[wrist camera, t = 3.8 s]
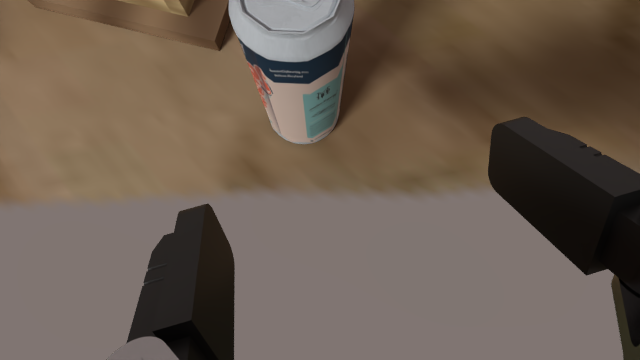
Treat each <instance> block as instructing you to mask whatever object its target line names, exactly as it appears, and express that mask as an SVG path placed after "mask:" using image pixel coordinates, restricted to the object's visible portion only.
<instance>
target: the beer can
mask: <svg viewBox="0 0 640 360" xmlns="http://www.w3.org/2000/svg"><path fill="white" fill-rule="evenodd" d="M353 15H354V0H229V16H230V19H231V23H232V26H233V29H234V31H235V33H236V34H237V36H238V39H239V41H240V44H241V46H242V49H243V52H244V54H245V57H246V59H247V62H248V65H249V67H250V70H251V72H252V75H253V77H254V80H255V83H256V85H257V88H258V90H259V93H260V96H261V98H262V101H263V103H264V106H265V108H266V111H267V114H268V116H269V120H270V123H271V125H272V127H273V129H274V130H275V131H276V132H277V133H278V134H279V135H280V136H281V137H282V138H284V139H285V140H288V141H290V142H293V143H296V144H310V143H314V142H317V141H319V140H321V139H323V138H325V137H326V136H327V135H328V134H329V133H330V132H331V131H332V130H333V129H334V127H335V125H336V123H337V120H338V116H339V111H340V104H341V97H342V90H343V83H344V77H345V70H346V63H347V56H348V49H349V42H350V35H351V28H352V22H353Z"/></svg>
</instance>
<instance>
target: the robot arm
mask: <svg viewBox="0 0 640 360" xmlns="http://www.w3.org/2000/svg"><path fill="white" fill-rule="evenodd" d="M488 176H489V180H490V183H491V185H492V187H493V188H494V190H495V191H496V192H497V193H498V194H499V195H500V196H501V197H502V198H503V199H504V200H506V201H507V202H508V203H509V204H510V205H511V206H512V207H513V208H514V209H515V210H516V211H518V212H519V213H520V214H521V215H522V216H523V217H524V218H525V219H526V220H527V221H528V222H529V223H530V224H531V225H532V226H534V227H535V228H536V229H537V230H538V231H539V232H540V233H541V234H542V235H543V236H544V237H545V238H547V239H548V240H549V241H550V242H551V243H552V244H553V245H554V246H555V247H556V248H557V249H558V250H560V251H561V252H562V253H563V254H564V255H565V256H566V257H567V258H568V259H569V260H570V261H571V262H572V263H573V264H575V265H576V266H577V267H578V268H579V269H580V270H581V271H582V272H583V273H584V274H585V275H589V274H593V273H596V272H599V271H602V270H606V269H609V270H610V271H611V272H612V273H614V276H613V279H612V282H611V287H612V293H613V299H614V304H615V310H616V316H617V321H618V327H619V332H620V338H621V344H622V350H623V360H640V174H639V173H637V172H635V171H634V170H632V169H630V168H628V167H626V166H625V165H623V164H621V163H619V162H617V161H615V160H614V159H612V158H610V157H608V156H606V155H602V154H601V152H599V151H597V150H596V149H594V148H592V147H587V144H585V143H583V142H581V141H579V140H578V139H576V138H574V137H572V136H570V135H568V134H564V133H561V132H557V131H554V130H550V129H547V128H545V127H543V126H542V125H540V124H538V123H536V122H535V121H533V120H531V119H529V118H527V117H521V118H518V119H514V120H510V121H507V122H503V123H500V124H497V125H495V126H494V128H493V130H492V135H491V145H490V156H489V166H488ZM106 360H234V258H233V253H232V250H231V247H230V244H229V242H228V240H227V238H226V236H225V234H224V232H223V230H222V227H221V225H220V223H219V221H218V219H217V217H216V215H215V213H214V211H213V209H212V207H211V206H210V205H209V204H204V205H201V206H197V207H194V208H190V209H186V210H183V211H180V212H179V213H178V217H177V221H176V226H175V231H174V233H171V234H167V235H164V236H163V238H162V239H161V240H160V242H159V243H158V244H157V246H156V247H155V249H154V250H153V251H152V254H151V258H150V261H149V265H148V272H147V273H146V276H145V279H144V286H142V290H141V294H140V297H139V301H138V304H137V308H136V312H135V315H134V319H133V322H132V326H131V329H130V333H129V336H128V340H127V343H126V344H125V345H123V346H121V347H120V348H119V349H117V350H116V351H115V352H114V353H112V354H111V355H110V356H109V357H108V358H107V359H106Z"/></svg>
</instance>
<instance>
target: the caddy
mask: <svg viewBox="0 0 640 360" xmlns="http://www.w3.org/2000/svg"><path fill="white" fill-rule="evenodd" d="M28 1H29V2H30V3H31V4H33V5H34V6H35V7H37V8H41V9H46V10H50V11H54V12H58V13H62V14H67V15H71V16H75V17H79V18H83V19H88V20H92V21H96V22H100V23H104V24H109V25H113V26H117V27H121V28H125V29H130V30H134V31H138V32H142V33H147V34H151V35H155V36H159V37H163V38H168V39H172V40H176V41H180V42H184V43H189V44H193V45H197V46H201V47H205V48H210V49H214V50H218V51H220V48H221V45H222V42H223V39H224V36H225V33H226V30H227V27H228V24H229V22H230V16H229V0H28Z"/></svg>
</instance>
